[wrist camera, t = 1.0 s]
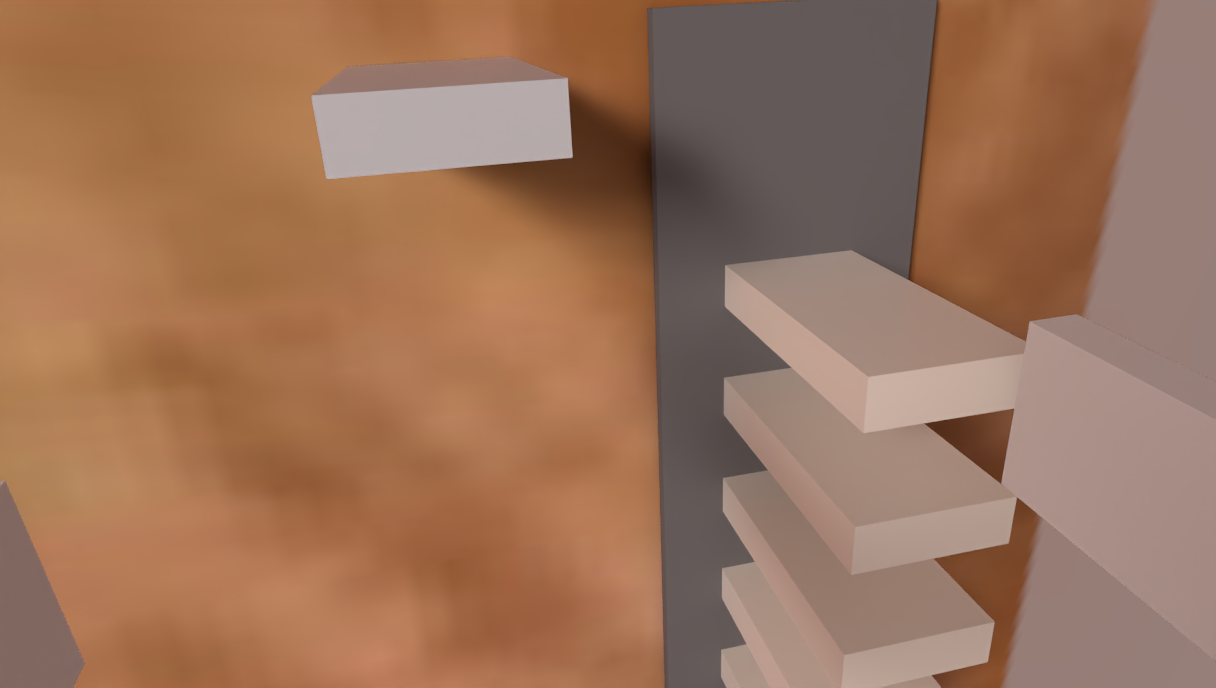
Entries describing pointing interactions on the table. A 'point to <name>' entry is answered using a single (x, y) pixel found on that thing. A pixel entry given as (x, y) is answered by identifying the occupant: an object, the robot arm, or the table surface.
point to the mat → (760, 234)
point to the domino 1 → (441, 116)
